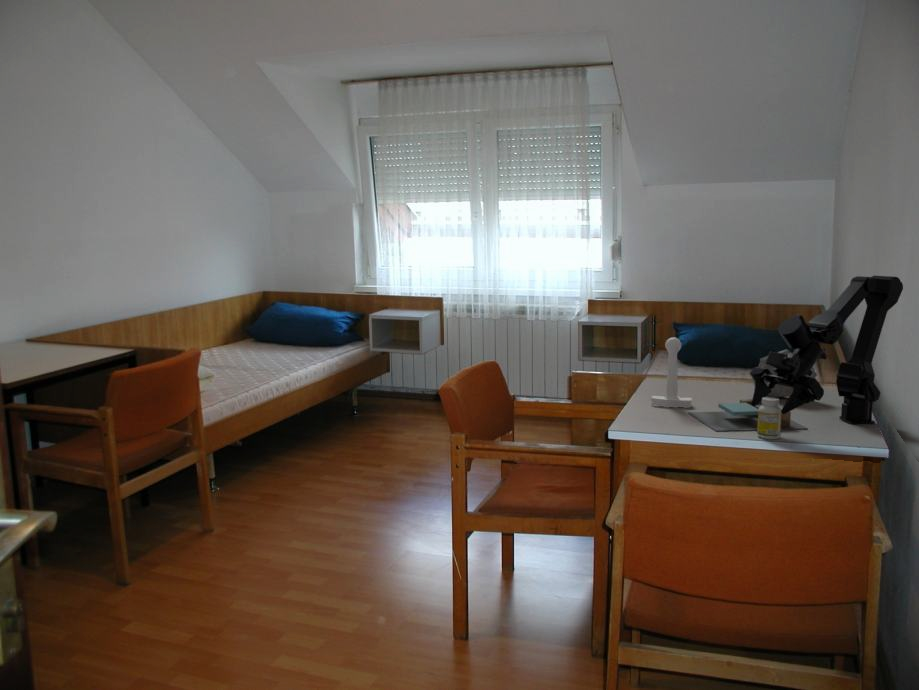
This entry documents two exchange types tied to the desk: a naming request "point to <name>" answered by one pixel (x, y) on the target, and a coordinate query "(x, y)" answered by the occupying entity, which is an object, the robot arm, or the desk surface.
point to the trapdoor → (739, 408)
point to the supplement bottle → (769, 418)
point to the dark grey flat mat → (740, 420)
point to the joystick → (672, 379)
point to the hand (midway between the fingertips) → (767, 409)
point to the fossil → (778, 389)
